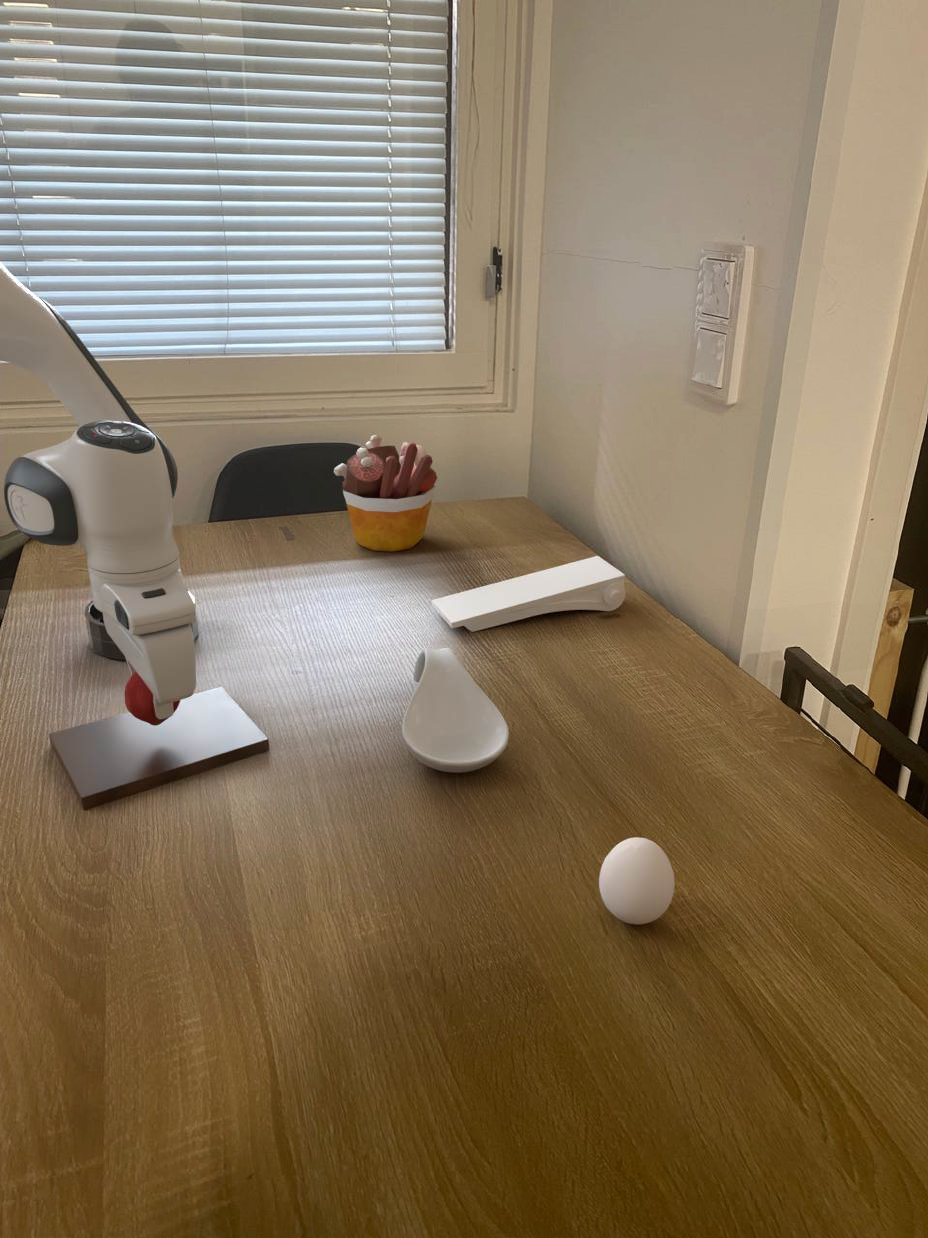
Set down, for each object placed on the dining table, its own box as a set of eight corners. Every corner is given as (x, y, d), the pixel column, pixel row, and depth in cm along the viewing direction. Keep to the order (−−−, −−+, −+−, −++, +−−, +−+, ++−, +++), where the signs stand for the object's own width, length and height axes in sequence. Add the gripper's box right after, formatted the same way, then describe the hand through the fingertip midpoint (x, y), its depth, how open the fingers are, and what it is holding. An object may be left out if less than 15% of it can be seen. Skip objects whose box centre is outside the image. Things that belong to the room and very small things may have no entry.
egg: (670, 947, 76) (682, 874, 73) (593, 936, 77) (602, 863, 74) (668, 895, 82) (679, 825, 79) (597, 885, 83) (605, 815, 80)
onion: (140, 709, 103) (131, 646, 100) (190, 711, 103) (183, 648, 100) (121, 737, 98) (110, 672, 94) (174, 739, 98) (166, 674, 94)
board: (83, 810, 91) (81, 798, 90) (50, 745, 101) (48, 733, 101) (269, 750, 102) (268, 739, 101) (222, 696, 112) (221, 686, 111)
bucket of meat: (326, 531, 166) (321, 422, 158) (407, 519, 174) (407, 415, 165) (368, 568, 150) (366, 450, 142) (456, 553, 158) (459, 440, 149)
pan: (107, 671, 117) (101, 637, 115) (78, 630, 127) (72, 597, 125) (213, 645, 124) (210, 612, 122) (178, 608, 135) (174, 577, 133)
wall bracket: (456, 667, 132) (625, 618, 140) (455, 630, 127) (630, 581, 135) (431, 624, 138) (593, 580, 146) (430, 588, 134) (597, 543, 142)
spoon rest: (519, 783, 97) (522, 726, 94) (410, 794, 95) (409, 736, 92) (473, 677, 118) (475, 627, 115) (383, 684, 116) (382, 633, 113)
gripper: (78, 557, 99) (97, 669, 105) (135, 627, 84) (153, 753, 90) (137, 547, 102) (151, 655, 108) (202, 612, 87) (215, 734, 93)
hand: (153, 700), depth 99 cm, fingers closed on onion, 6 cm apart
